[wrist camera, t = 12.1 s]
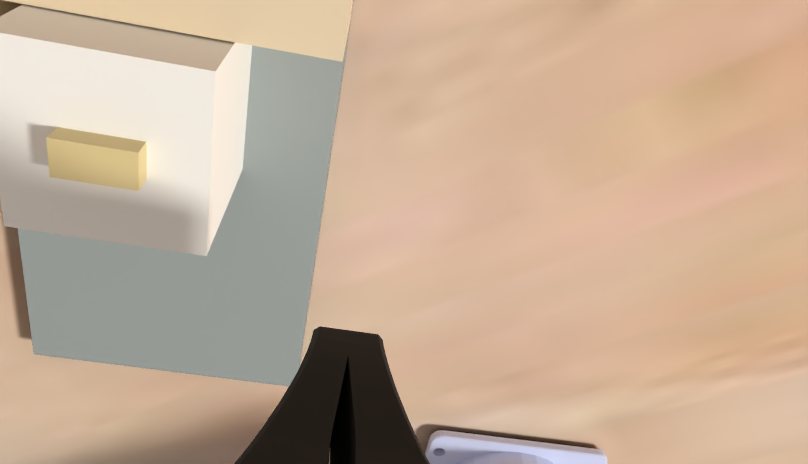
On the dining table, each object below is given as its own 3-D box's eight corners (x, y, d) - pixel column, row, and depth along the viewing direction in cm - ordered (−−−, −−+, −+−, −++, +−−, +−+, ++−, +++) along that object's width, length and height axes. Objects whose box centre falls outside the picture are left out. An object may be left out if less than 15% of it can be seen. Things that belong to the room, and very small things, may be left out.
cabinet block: (242, 168, 22) (201, 269, 17) (81, 142, 21) (-8, 238, 16) (254, 13, 19) (209, 80, 14) (71, -22, 19) (-38, 36, 14)
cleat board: (298, 373, 28) (285, 447, 24) (42, 340, 26) (-6, 413, 23) (358, -35, 19) (352, -4, 16) (-10, -108, 18) (-97, -90, 15)
